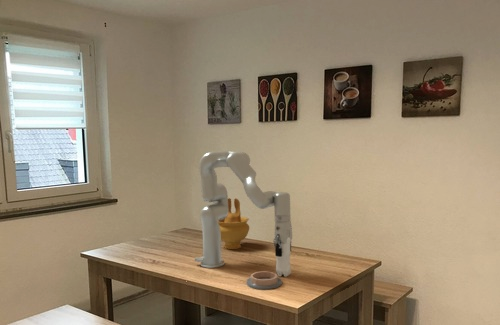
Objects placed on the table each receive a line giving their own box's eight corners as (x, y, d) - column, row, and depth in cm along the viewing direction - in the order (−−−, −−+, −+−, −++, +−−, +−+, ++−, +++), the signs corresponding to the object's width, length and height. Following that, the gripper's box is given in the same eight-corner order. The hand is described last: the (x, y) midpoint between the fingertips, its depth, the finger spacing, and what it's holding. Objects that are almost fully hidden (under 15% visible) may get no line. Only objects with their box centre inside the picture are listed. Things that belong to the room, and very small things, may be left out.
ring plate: (249, 290, 172) (249, 282, 172) (244, 278, 188) (244, 271, 188) (285, 288, 174) (285, 280, 174) (277, 276, 190) (277, 269, 190)
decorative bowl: (211, 250, 238) (209, 200, 237) (221, 241, 259) (220, 196, 257) (245, 252, 234) (244, 201, 232) (253, 243, 254) (252, 196, 253)
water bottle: (275, 273, 195) (274, 222, 194) (289, 272, 195) (288, 221, 194) (277, 278, 188) (276, 225, 186) (292, 277, 188) (291, 224, 187)
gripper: (281, 222, 181) (282, 259, 182) (297, 215, 195) (298, 250, 196) (266, 220, 185) (267, 257, 186) (283, 214, 199) (284, 248, 200)
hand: (283, 253), depth 191 cm, fingers open, 9 cm apart
